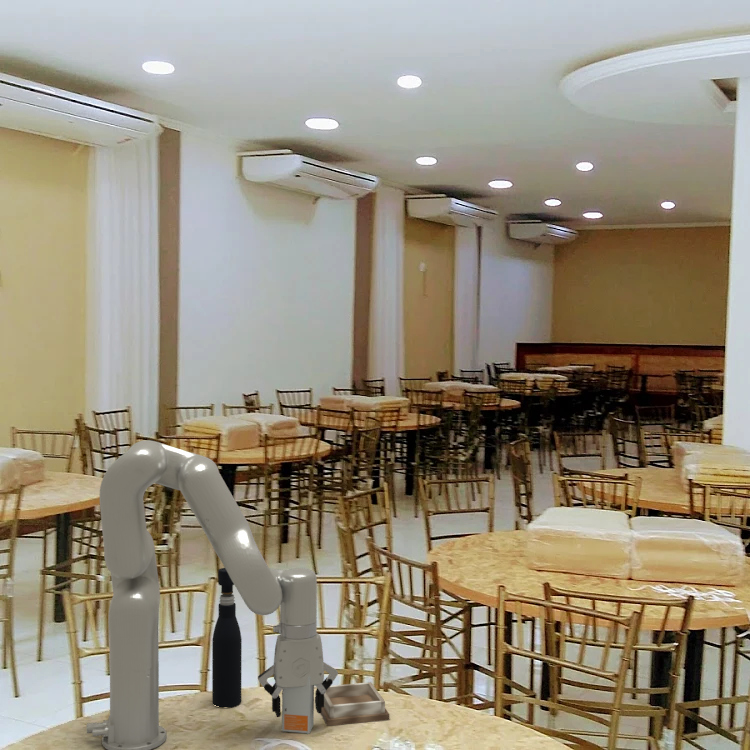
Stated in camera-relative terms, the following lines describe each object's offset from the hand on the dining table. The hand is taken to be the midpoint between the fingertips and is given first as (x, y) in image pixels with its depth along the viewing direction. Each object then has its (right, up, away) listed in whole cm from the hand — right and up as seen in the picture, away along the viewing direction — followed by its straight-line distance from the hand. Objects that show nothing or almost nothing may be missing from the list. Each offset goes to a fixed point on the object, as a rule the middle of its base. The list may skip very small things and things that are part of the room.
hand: (298, 712), depth 194 cm
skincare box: (0, -4, 0) cm, 4 cm away
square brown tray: (+11, -3, +10) cm, 15 cm away
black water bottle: (-17, -3, +14) cm, 23 cm away
